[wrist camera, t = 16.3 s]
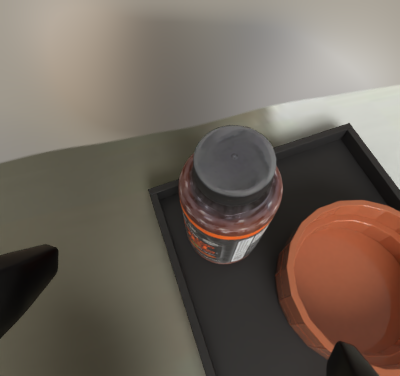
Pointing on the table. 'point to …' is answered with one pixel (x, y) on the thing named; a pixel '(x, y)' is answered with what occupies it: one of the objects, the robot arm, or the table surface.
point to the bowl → (345, 281)
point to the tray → (267, 258)
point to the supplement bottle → (229, 193)
